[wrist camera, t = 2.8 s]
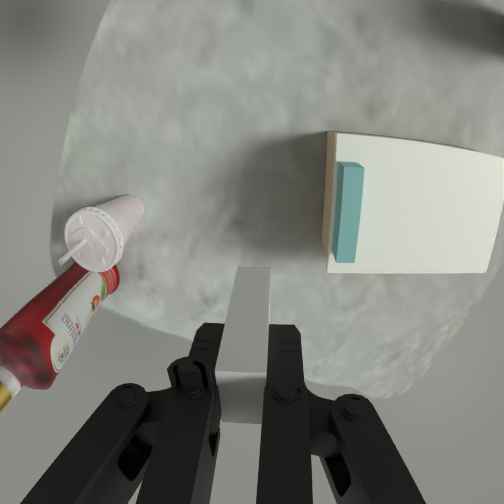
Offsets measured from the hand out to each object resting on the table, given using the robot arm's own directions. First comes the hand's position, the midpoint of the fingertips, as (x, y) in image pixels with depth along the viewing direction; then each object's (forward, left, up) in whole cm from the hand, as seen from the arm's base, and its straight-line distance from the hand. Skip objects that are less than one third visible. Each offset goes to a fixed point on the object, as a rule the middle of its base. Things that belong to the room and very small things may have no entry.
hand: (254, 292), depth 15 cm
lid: (0, +15, -14) cm, 21 cm away
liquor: (+10, -22, -20) cm, 32 cm away
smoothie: (+2, -16, -20) cm, 26 cm away
